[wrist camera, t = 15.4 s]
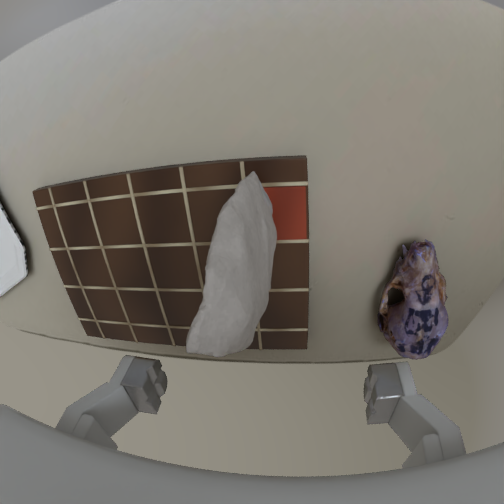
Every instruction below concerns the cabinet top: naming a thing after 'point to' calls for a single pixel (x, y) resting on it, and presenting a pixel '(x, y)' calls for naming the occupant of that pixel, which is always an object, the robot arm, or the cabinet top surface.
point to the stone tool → (236, 273)
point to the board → (172, 247)
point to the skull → (415, 303)
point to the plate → (10, 254)
